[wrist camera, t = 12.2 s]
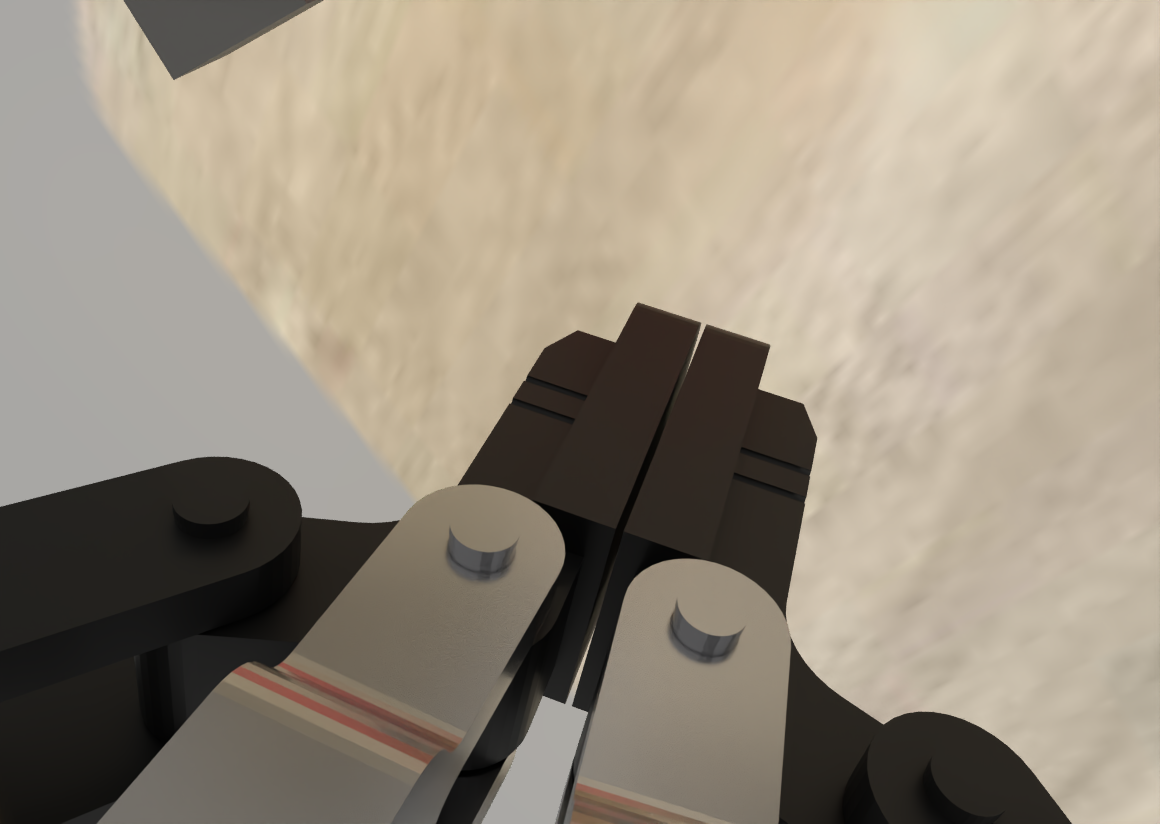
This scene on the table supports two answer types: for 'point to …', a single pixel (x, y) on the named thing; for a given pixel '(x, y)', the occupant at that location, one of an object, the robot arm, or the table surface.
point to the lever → (208, 27)
